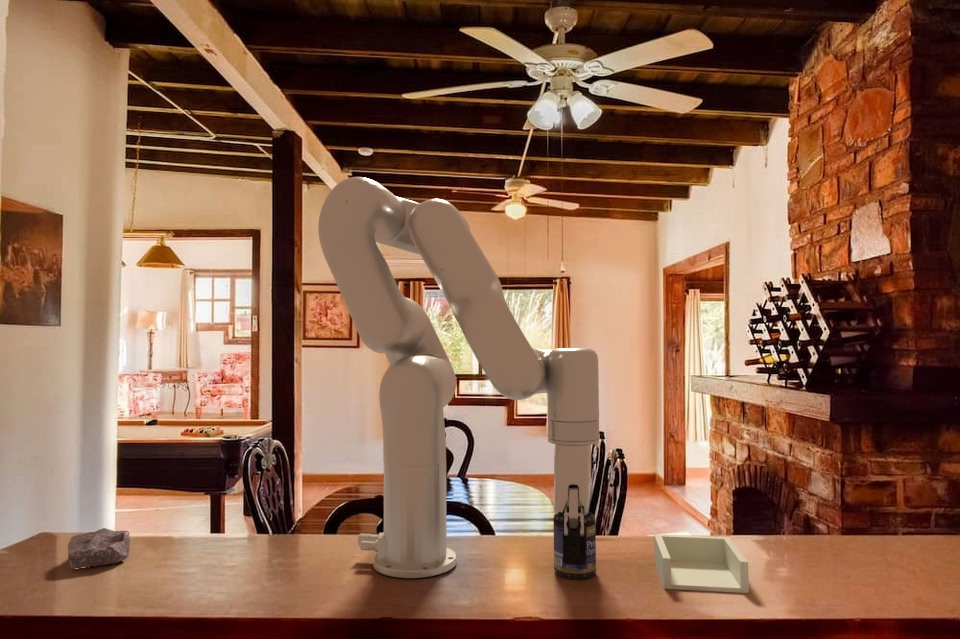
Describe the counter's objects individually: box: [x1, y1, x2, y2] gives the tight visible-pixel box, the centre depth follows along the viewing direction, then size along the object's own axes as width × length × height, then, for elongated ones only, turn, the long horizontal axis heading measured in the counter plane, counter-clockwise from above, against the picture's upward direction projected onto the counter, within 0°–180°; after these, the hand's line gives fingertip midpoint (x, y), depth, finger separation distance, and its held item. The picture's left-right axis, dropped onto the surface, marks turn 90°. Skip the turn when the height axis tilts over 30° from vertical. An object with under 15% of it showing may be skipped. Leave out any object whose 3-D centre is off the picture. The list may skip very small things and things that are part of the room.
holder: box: [653, 533, 750, 594], centre depth 91 cm, size 11×11×4 cm
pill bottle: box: [553, 493, 597, 580], centre depth 93 cm, size 6×6×11 cm
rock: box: [67, 528, 131, 570], centre depth 101 cm, size 8×11×5 cm
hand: (574, 554), depth 93 cm, fingers closed on pill bottle, 6 cm apart
